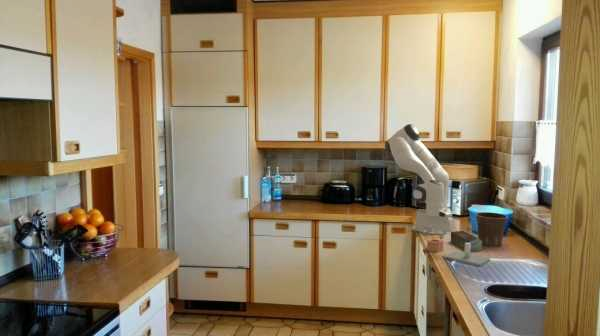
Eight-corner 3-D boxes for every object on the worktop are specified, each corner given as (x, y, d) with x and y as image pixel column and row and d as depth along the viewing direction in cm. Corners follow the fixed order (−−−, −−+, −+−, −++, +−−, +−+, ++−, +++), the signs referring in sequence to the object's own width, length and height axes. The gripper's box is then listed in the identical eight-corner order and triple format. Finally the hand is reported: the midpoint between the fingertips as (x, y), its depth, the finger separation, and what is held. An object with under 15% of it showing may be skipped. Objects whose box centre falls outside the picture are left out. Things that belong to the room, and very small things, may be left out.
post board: (444, 258, 227) (444, 242, 226) (454, 253, 235) (455, 237, 234) (480, 266, 214) (481, 249, 213) (490, 260, 223) (491, 244, 222)
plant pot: (491, 238, 264) (492, 211, 262) (512, 245, 249) (514, 216, 247) (468, 241, 258) (469, 213, 257) (488, 248, 243) (490, 219, 241)
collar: (427, 250, 241) (427, 240, 240) (432, 247, 245) (432, 238, 244) (437, 252, 237) (438, 243, 236) (443, 250, 241) (443, 240, 240)
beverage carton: (468, 251, 238) (468, 239, 238) (449, 242, 257) (450, 230, 257) (482, 251, 240) (482, 238, 239) (462, 241, 259) (463, 230, 258)
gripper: (413, 209, 244) (412, 234, 245) (449, 215, 229) (448, 241, 231) (420, 207, 248) (419, 232, 250) (455, 213, 234) (454, 239, 235)
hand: (433, 237), depth 240 cm, fingers open, 8 cm apart
